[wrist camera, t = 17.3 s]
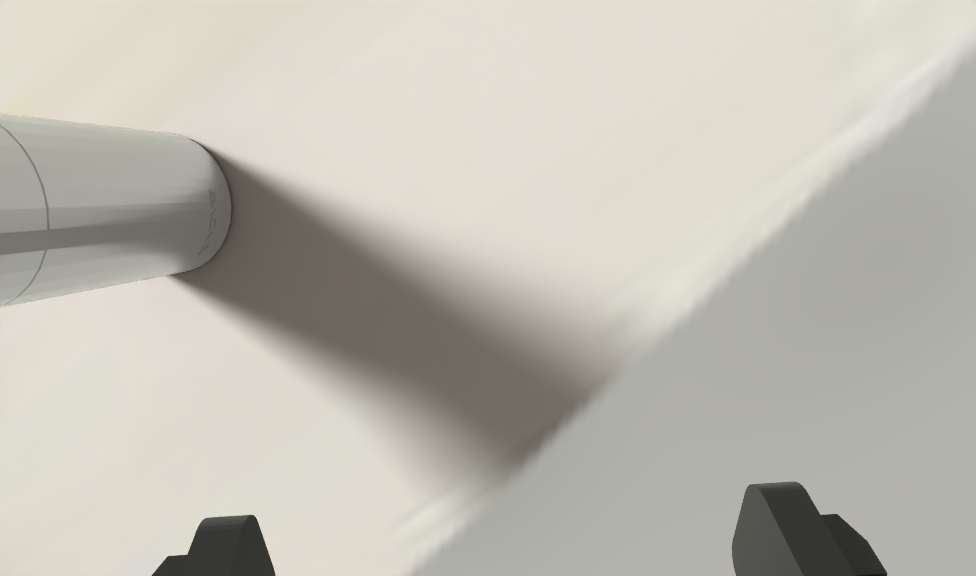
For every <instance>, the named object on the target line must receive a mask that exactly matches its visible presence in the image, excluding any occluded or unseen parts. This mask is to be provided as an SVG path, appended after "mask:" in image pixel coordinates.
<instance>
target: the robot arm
mask: <svg viewBox="0 0 976 576" xmlns="http://www.w3.org/2000/svg"><path fill="white" fill-rule="evenodd" d="M231 209H232V208H231V198H230V192H229V188H228V185H227V182H226V178H225V176H224V175H223V173H222V171H221V169H220V167H219V165H218V164H217V162H216V161H215V160H214V159H213V157H212V156H211V155H210V153H208V152H207V151H206V150H205V149H204V148H203V147H201V146H200V145H199V144H197V143H196V142H194V141H192V140H190V139H188V138H186V137H183V136H179V135H176V134H170V133H162V132H153V131H145V130H136V129H129V128H121V127H112V126H103V125H95V124H86V123H77V122H69V121H60V120H52V119H43V118H34V117H26V116H17V115H8V114H0V307H5V306H10V305H15V304H20V303H25V302H31V301H36V300H41V299H46V298H51V297H56V296H62V295H67V294H72V293H77V292H82V291H88V290H93V289H98V288H103V287H108V286H113V285H119V284H124V283H129V282H134V281H139V280H145V279H150V278H156V277H161V276H166V275H171V274H176V273H181V272H187V271H190V270H193V269H195V268H198V267H200V266H202V265H203V264H205V263H206V262H207V261H209V260H210V259H211V258H212V257H213V256H214V255H215V254H216V253H217V251H218V250H219V249H220V247H221V246H222V244H223V242H224V240H225V238H226V236H227V233H228V229H229V226H230V221H231ZM732 557H733V564H734V569H735V573H736V576H887V572H886V571H885V569H884V568H883V566H882V564H881V563H880V561H879V559H878V558H877V556H876V555H875V553H874V551H873V550H872V548H871V546H870V545H869V543H868V542H867V540H865V539H864V538H863V537H862V536H861V535H860V534H859V533H857V531H855V530H854V529H853V528H852V527H851V526H850V525H849V524H848V523H846V522H845V521H844V520H843V519H842V518H841V517H840V516H839V515H837V514H829V515H820V514H819V512H818V510H817V509H816V507H815V505H814V504H813V501H812V500H811V498H810V496H809V495H808V493H807V491H806V490H805V488H803V486H802V485H801V484H800V483H798V482H781V483H765V484H752V485H749V486H748V487H747V489H746V492H745V495H744V499H743V503H742V507H741V511H740V515H739V519H738V523H737V527H736V530H735V534H734V538H733V543H732ZM152 576H275V571H274V568H273V565H272V562H271V559H270V556H269V553H268V550H267V547H266V544H265V541H264V538H263V536H262V533H261V530H260V527H259V524H258V521H257V519H256V517H255V516H254V515H243V516H227V517H212V518H205V519H204V520H203V521H202V522H201V523H200V525H199V526H198V529H197V531H196V534H195V536H194V539H193V542H192V544H191V547H190V549H189V552H188V555H178V556H168V557H167V558H166V559H165V560H164V561H163V563H162V564H161V565H160V566H159V567H158V569H157V570H156V571H155V572H154V573H153V575H152Z"/></svg>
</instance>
